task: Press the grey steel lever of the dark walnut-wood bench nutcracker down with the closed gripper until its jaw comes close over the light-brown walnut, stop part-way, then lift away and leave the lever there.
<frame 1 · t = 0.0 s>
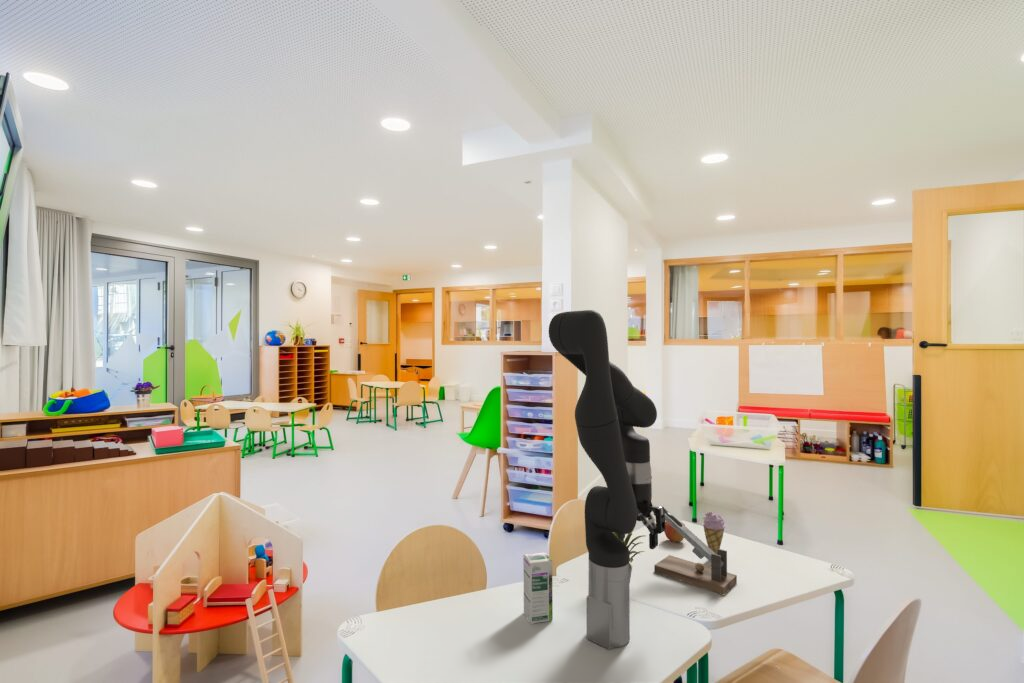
hand: (637, 543, 120), 17 cm above the table, tool pointing down, fingers open, 8 cm apart
syrup box: (537, 617, 118), on the table
ice cream cone: (713, 559, 153), on the table
apple: (674, 542, 167), on the table
house plant: (623, 590, 132), on the table
press base: (694, 577, 140), on the table
lever: (689, 538, 141), point 11 cm above the table, hinge at 32.0°
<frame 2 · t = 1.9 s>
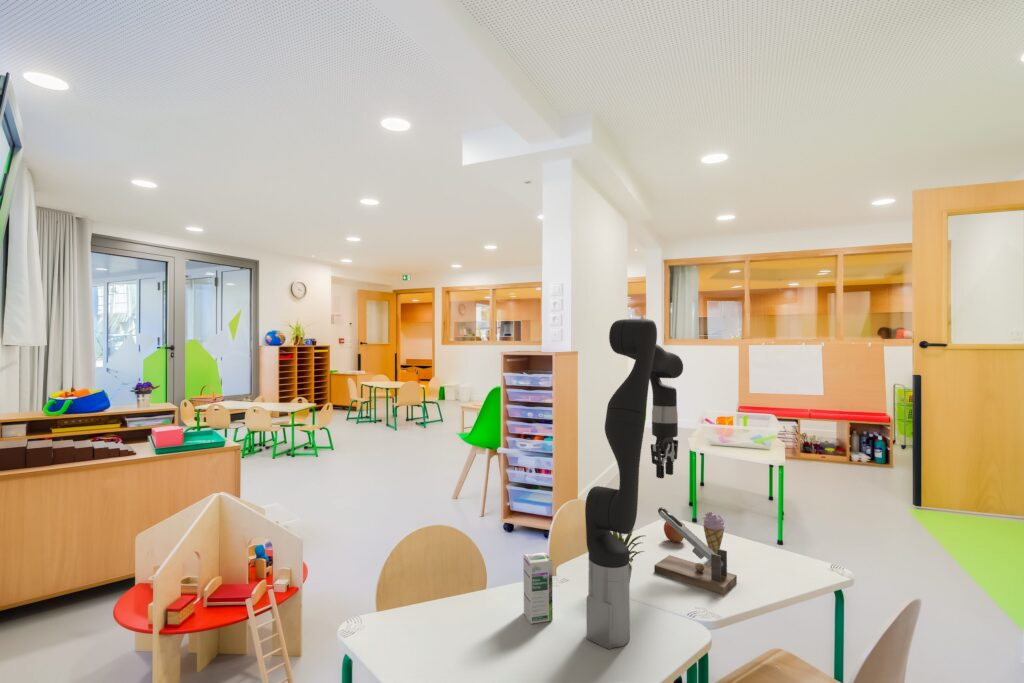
hand: (664, 475, 147), 28 cm above the table, tool pointing down, fingers open, 5 cm apart
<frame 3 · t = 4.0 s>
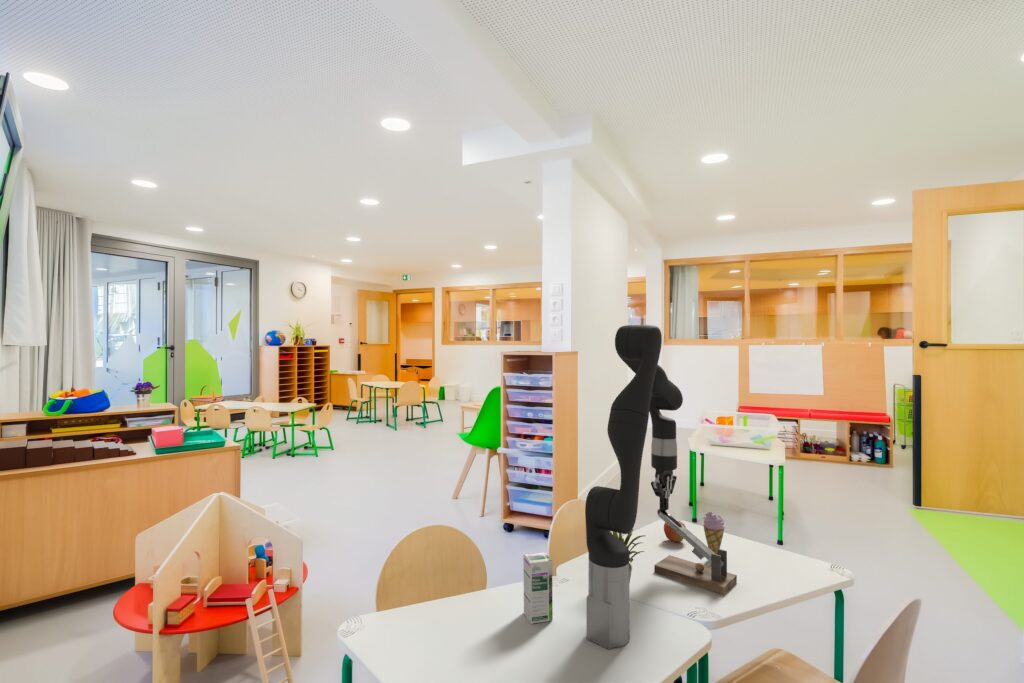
hand: (664, 509, 147), 17 cm above the table, tool pointing down, fingers closed
lever: (689, 539, 141), point 10 cm above the table, hinge at 30.7°, touching gripper
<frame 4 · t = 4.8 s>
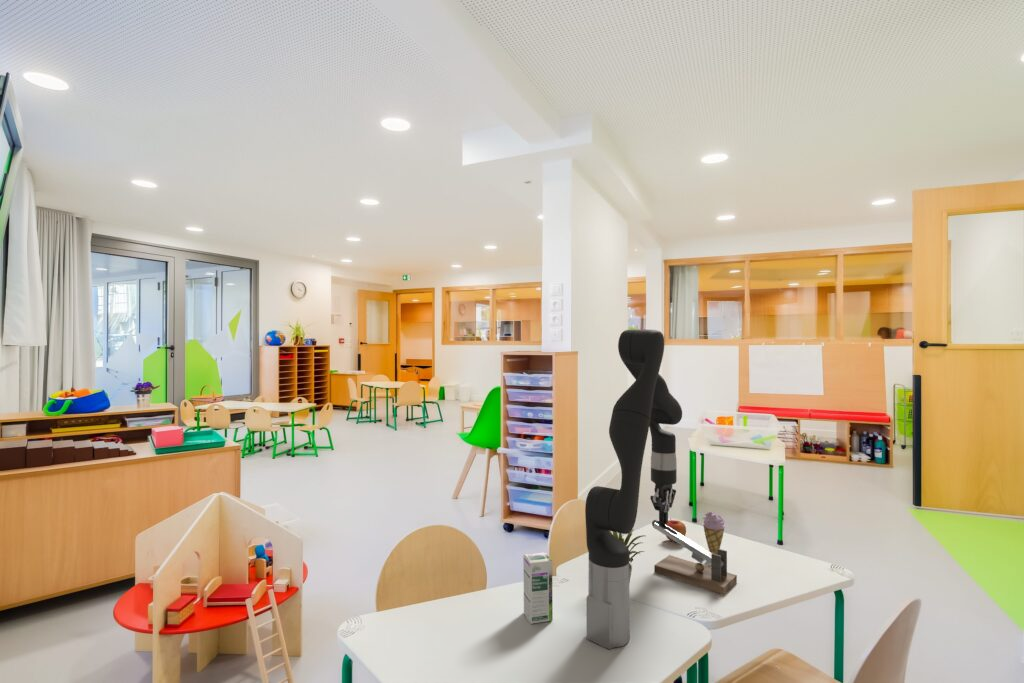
hand: (663, 523, 147), 13 cm above the table, tool pointing down, fingers closed
lever: (687, 545, 142), point 9 cm above the table, hinge at 18.5°, touching gripper
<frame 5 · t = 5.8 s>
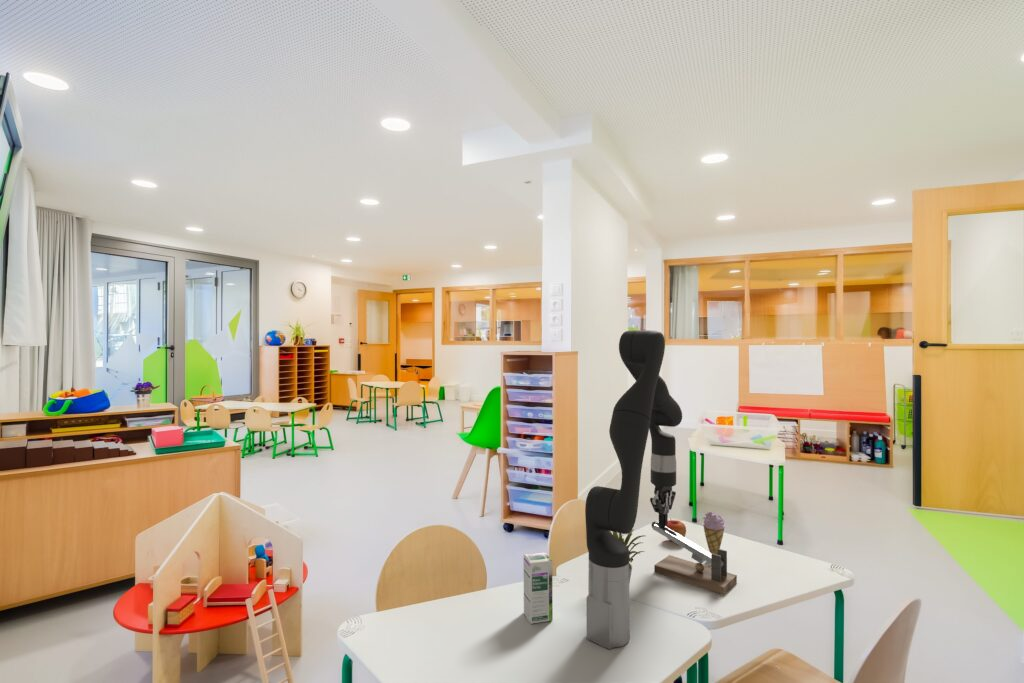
hand: (663, 525, 147), 12 cm above the table, tool pointing down, fingers closed
lever: (686, 546, 142), point 8 cm above the table, hinge at 17.0°, touching gripper
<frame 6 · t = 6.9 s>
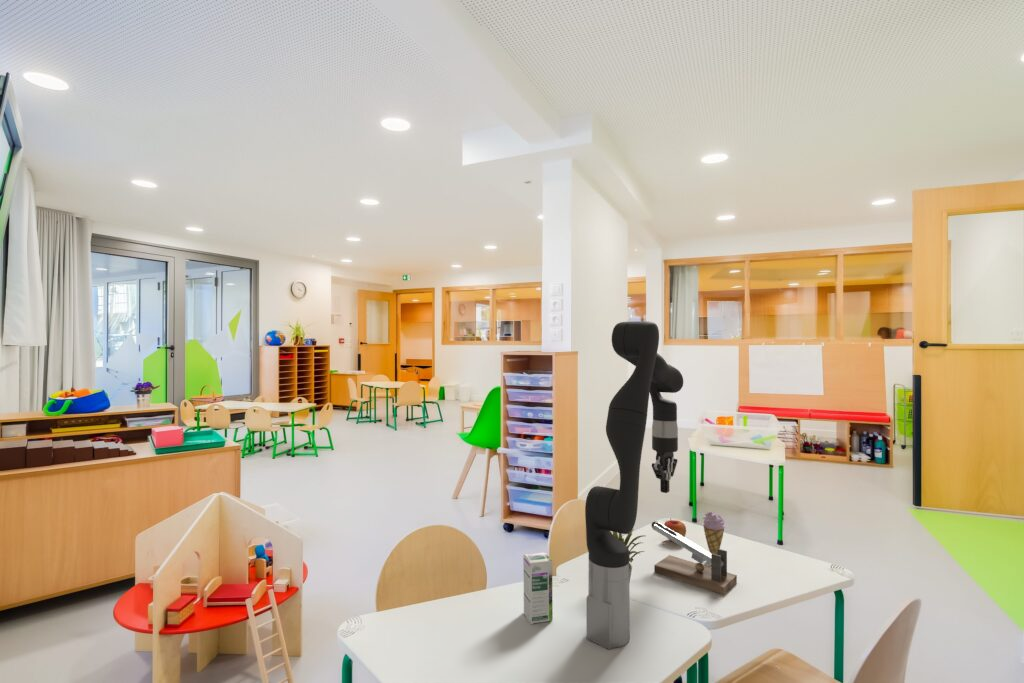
hand: (664, 492, 147), 23 cm above the table, tool pointing down, fingers closed
lever: (686, 546, 142), point 8 cm above the table, hinge at 17.0°
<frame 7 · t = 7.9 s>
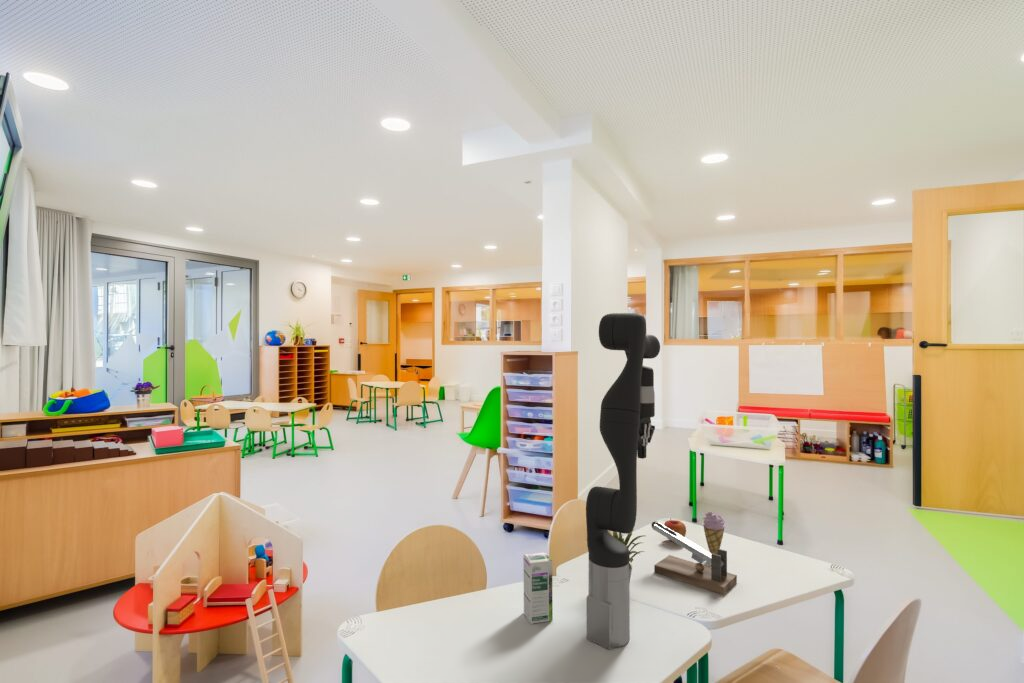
hand: (641, 457, 147), 33 cm above the table, tool pointing down, fingers closed
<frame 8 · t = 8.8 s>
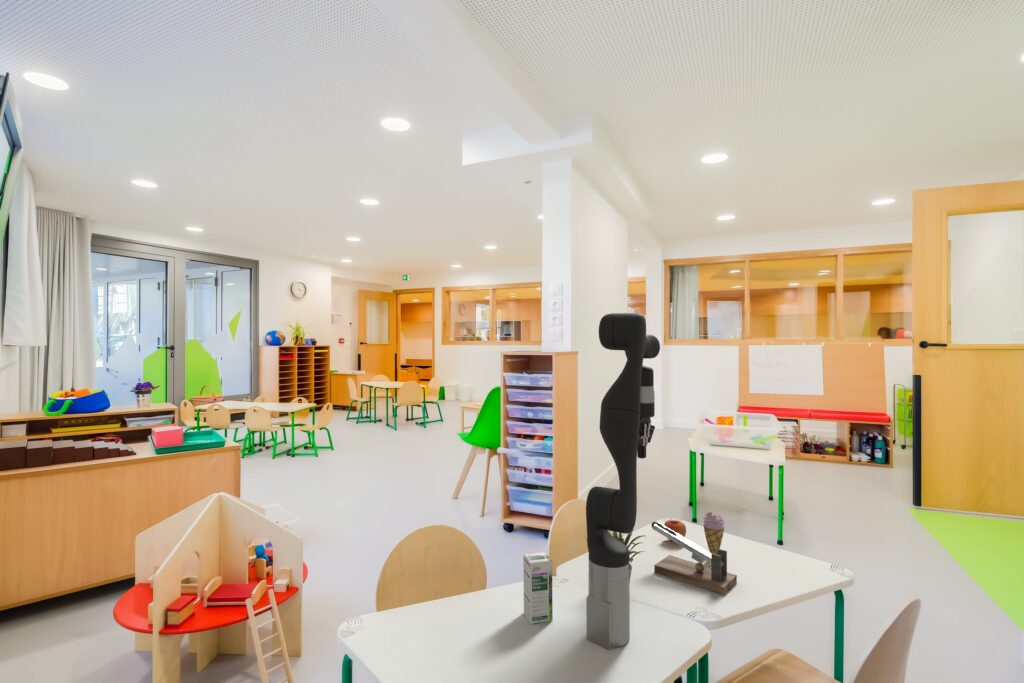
hand: (641, 457, 147), 33 cm above the table, tool pointing down, fingers closed
at the end: lever at +17° (first picture: +32°) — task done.
